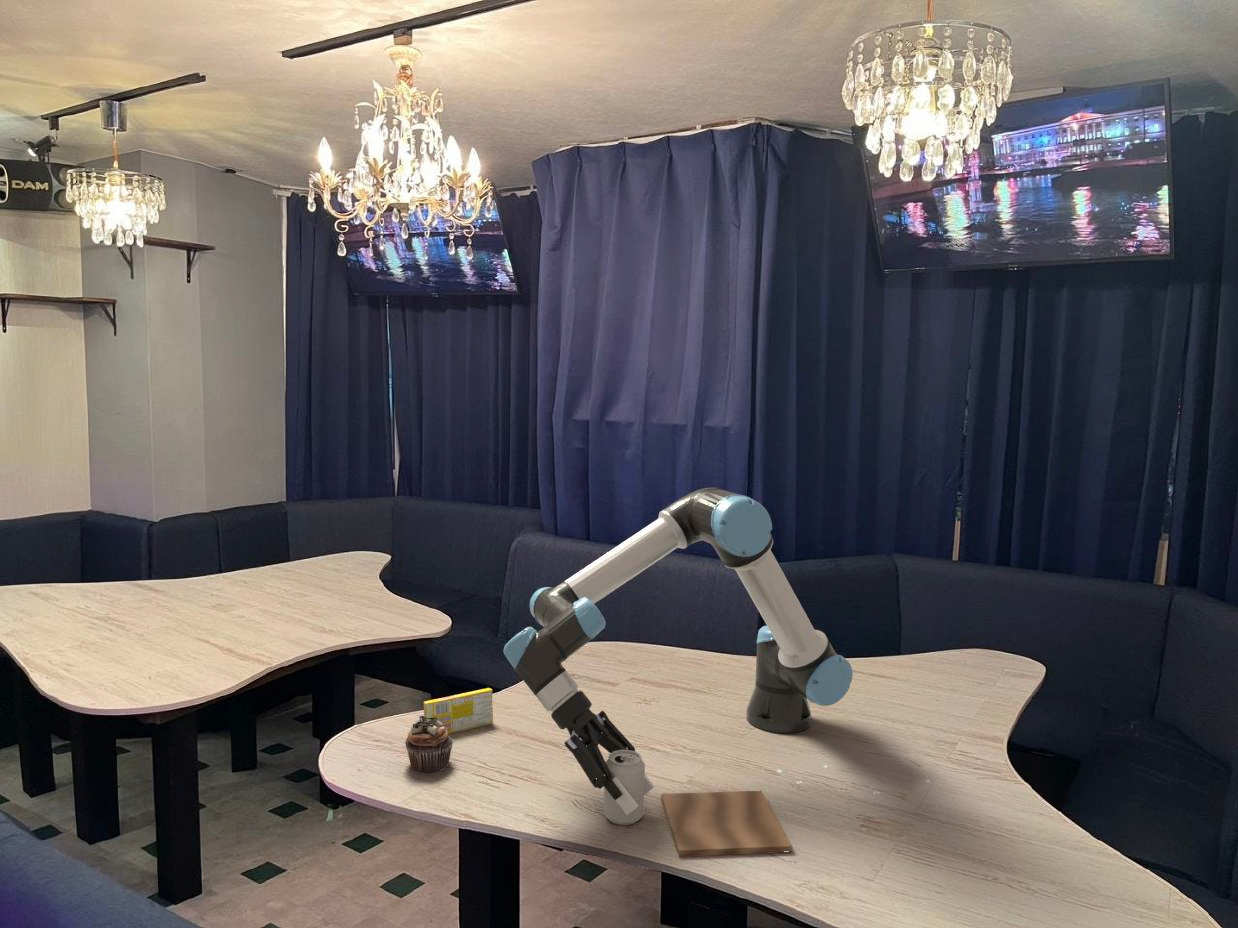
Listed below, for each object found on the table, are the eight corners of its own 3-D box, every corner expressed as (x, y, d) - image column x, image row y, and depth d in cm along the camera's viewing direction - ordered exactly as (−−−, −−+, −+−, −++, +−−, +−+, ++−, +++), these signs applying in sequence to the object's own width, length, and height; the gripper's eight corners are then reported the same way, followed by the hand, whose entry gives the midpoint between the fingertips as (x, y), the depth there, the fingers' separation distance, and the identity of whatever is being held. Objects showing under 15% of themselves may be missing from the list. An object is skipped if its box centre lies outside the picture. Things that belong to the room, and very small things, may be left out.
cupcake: (450, 774, 184) (450, 727, 183) (402, 775, 184) (401, 728, 182) (455, 753, 194) (455, 709, 193) (409, 754, 193) (409, 709, 192)
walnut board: (761, 796, 178) (761, 790, 178) (791, 852, 159) (791, 845, 159) (660, 799, 176) (661, 793, 176) (678, 856, 156) (679, 850, 156)
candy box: (489, 720, 211) (489, 686, 210) (493, 724, 210) (493, 689, 209) (423, 735, 203) (423, 700, 202) (426, 739, 201) (426, 703, 200)
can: (602, 806, 173) (603, 747, 171) (641, 806, 173) (643, 746, 172) (604, 827, 165) (606, 765, 164) (645, 826, 166) (647, 764, 164)
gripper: (575, 694, 182) (647, 787, 178) (525, 731, 164) (605, 836, 160) (600, 673, 180) (674, 767, 175) (552, 709, 161) (633, 815, 157)
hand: (641, 800), depth 168 cm, fingers closed on can, 7 cm apart
